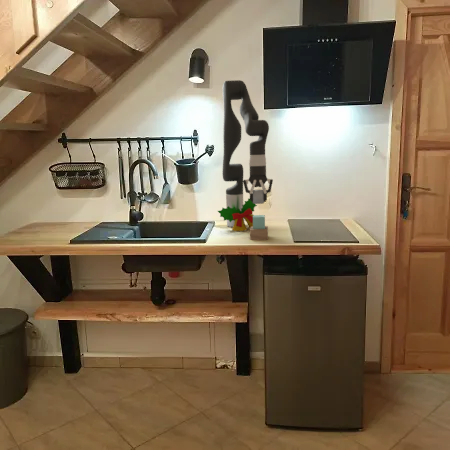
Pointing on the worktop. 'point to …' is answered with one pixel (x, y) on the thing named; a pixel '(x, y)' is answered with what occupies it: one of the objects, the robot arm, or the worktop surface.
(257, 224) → the cube
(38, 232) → the worktop surface
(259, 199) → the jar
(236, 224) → the ornament
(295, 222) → the worktop surface
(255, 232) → the plinth
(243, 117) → the robot arm
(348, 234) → the worktop surface
